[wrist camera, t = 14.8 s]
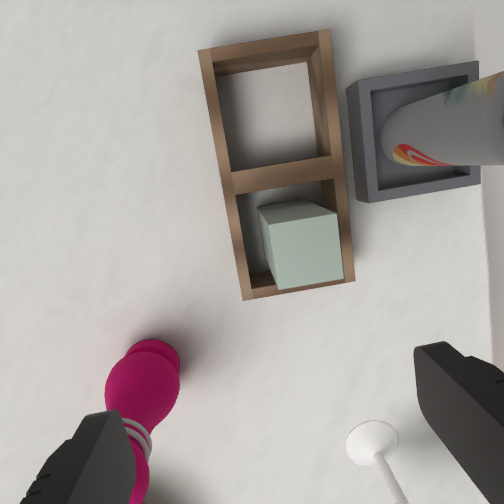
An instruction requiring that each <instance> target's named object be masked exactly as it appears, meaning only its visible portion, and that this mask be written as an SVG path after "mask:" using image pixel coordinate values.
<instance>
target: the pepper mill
mask: <svg viewBox="0 0 504 504" xmlns="http://www.w3.org/2000/svg"><path fill="white" fill-rule="evenodd" d="M179 370H180V361H179V357H178V355H177V353H176V352H175V350H174V349H173V348H172V347H171V346H169V345H168V344H166V343H164V342H162V341H159V340H144V341H141V342H138V343H136V344H135V345H133V346H132V347H131V348H130V349H129V350H128V352H127V353H126V355H125V357H124V358H122V359H121V360H120V361H119V362H118V363H116V365H115V366H114V367H113V368H112V370H111V372H110V374H109V376H108V379H107V381H106V385H105V395H104V396H105V404H106V409H107V411H109V410H114V409H116V410H118V411H119V412H120V414H121V417H122V420H123V423H124V426H125V429H126V432H127V435H128V438H129V441H130V444H131V447H132V450H133V453H134V456H135V461H136V480H135V484H134V488H133V491H132V494H131V498H130V501H129V504H142V502H143V500H144V498H145V496H146V493H147V490H148V486H149V467H148V461H149V456H150V454H151V450H152V441H151V438H150V434H151V432H152V430H153V429H154V427H155V426H156V425H158V424H159V423H160V422H161V421H162V420H163V419H164V418H165V417H166V416H167V415H168V414H169V412H170V411H171V409H172V408H173V406H174V404H175V402H176V399H177V396H178V394H179V389H180V383H179V377H178V374H179Z"/></svg>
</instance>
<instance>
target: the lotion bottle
mask: <svg viewBox="0 0 504 504" xmlns="http://www.w3.org/2000/svg"><path fill="white" fill-rule="evenodd" d="M380 143H381V148H382V150H383V152H384V154H385V155H386V157H387V158H388V159H390V160H391V161H392V162H394V163H396V164H399V165H406V166H456V165H504V71H503V72H500V73H497V74H494V75H491V76H488V77H485V78H483V79H480V80H477V81H474V82H471V83H468V84H465V85H463V86H460V87H457V88H454V89H451V90H448V91H445V92H443V93H440V94H437V95H434V96H431V97H428V98H426V99H423V100H420V101H417V102H414V103H411V104H409V105H406V106H403V107H401V108H399V109H397V110H396V111H394V112H393V113H392V114H391V115H390V116H389V117H388V118H387V119H386V121H385V122H384V124H383V126H382V129H381V134H380Z"/></svg>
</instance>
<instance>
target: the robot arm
mask: <svg viewBox="0 0 504 504" xmlns="http://www.w3.org/2000/svg"><path fill="white" fill-rule="evenodd" d="M414 365H415V376H416V386H417V396H418V402H419V405H420V408H421V411H422V413H423V415H424V417H425V419H426V421H427V422H428V424H429V425H430V426H431V428H432V429H433V430H434V431H435V433H436V434H437V435H438V437H439V438H440V439H441V441H442V442H443V443H444V444H445V446H446V447H447V448H448V450H449V451H450V452H451V454H452V455H453V456H454V458H455V459H456V460H457V461H458V463H459V464H460V465H461V467H462V468H463V469H464V471H465V472H466V473H467V474H468V476H469V477H470V478H471V480H472V481H473V482H474V484H475V485H476V486H477V487H478V489H479V490H480V491H481V493H482V494H483V495H484V497H485V498H486V499H487V501H488V502H489V503H490V504H504V373H503V372H502V371H501V370H499V369H498V368H497V367H496V366H494V365H493V364H490V363H488V362H485V361H483V360H480V359H478V358H476V357H473V356H469V357H464V356H463V355H462V354H461V353H459V352H458V351H457V350H456V349H455V348H453V347H452V346H451V345H450V344H448V343H447V342H445V341H442V342H437V343H433V344H428V345H423V346H418V347H415V349H414ZM135 480H136V461H135V456H134V453H133V450H132V447H131V444H130V441H129V438H128V435H127V432H126V429H125V426H124V423H123V420H122V417H121V414H120V412H119V411H118V410H116V409H114V410H109V411H104V412H99V413H94V414H90V415H87V416H85V417H84V419H83V420H82V422H81V424H80V425H79V427H78V429H77V430H76V432H75V434H74V436H73V437H72V439H69V440H66V441H65V442H64V443H63V444H62V445H61V446H60V447H59V448H58V449H57V450H56V451H55V452H54V453H53V454H52V455H51V456H50V457H49V458H48V459H47V461H46V462H45V464H44V465H43V467H42V469H41V470H40V472H39V473H38V475H37V477H36V481H33V483H32V485H31V486H30V488H29V490H28V491H27V493H26V497H25V498H23V499H22V501H21V502H20V504H129V501H130V498H131V494H132V491H133V488H134V484H135Z"/></svg>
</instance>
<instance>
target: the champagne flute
mask: <svg viewBox="0 0 504 504" xmlns="http://www.w3.org/2000/svg"><path fill="white" fill-rule="evenodd" d="M397 445H398V437H397V433H396V431H395V430H394V429H393V428H392V426H390V425H389V424H387V423H384V422H381V421H369V422H365V423H363V424H361V425H359V426H357V427H356V428H355V429H354V430H353V431H352V432H351V433H350V434H349V436H348V438H347V441H346V452H347V455H348V456H349V458H350V459H351V460H352V461H353V462H355V463H356V464H358V465H361V466H376V465H377V466H378V468H379V470H380V472H381V474H382V476H383V478H384V480H385V482H386V484H387V486H388V488H389V490H390V492H391V494H392V496H393V498H394V500H395V502H396V504H409V503H408V501H407V499H406V497H405V495H404V493H403V492H402V490H401V488H400V486H399V484H398V482H397V480H396V478H395V477H394V475H393V473H392V471H391V469H390V467H389V465H388V463H387V462H386V461H387V460H388V459H390V457H391V456H392V455H393V454H394V452H395V451H396V448H397Z"/></svg>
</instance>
